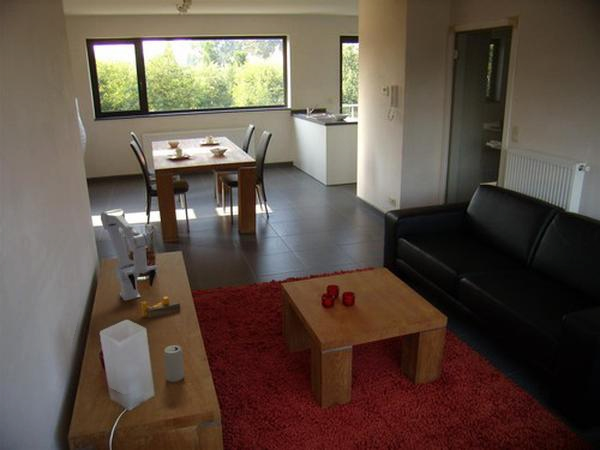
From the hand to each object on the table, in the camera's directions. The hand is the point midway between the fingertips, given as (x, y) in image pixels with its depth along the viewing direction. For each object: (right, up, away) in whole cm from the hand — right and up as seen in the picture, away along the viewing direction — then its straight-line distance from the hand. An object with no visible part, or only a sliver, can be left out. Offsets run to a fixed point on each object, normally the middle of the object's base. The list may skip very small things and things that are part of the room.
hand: (142, 287), depth 236 cm
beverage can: (+29, -26, -55) cm, 67 cm away
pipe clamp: (+7, -11, -4) cm, 14 cm away
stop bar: (+11, -11, -5) cm, 17 cm away
